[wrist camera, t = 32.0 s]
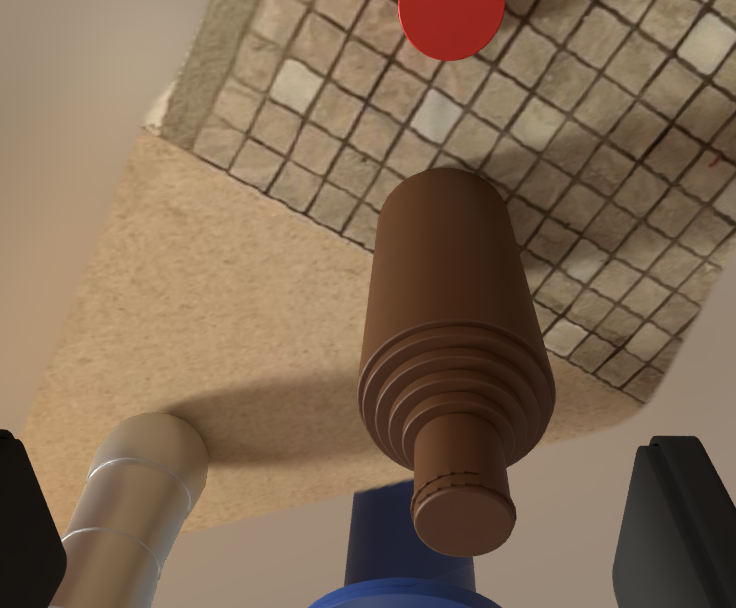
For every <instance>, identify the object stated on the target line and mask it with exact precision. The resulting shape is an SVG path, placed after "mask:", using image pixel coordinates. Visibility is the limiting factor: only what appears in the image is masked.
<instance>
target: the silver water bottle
mask: <svg viewBox="0 0 736 608" xmlns="http://www.w3.org/2000/svg"><path fill="white" fill-rule="evenodd" d="M208 463H209V458H208V452H207V449H206V446H205V444H204V442H203V440H202V439H201V437H200V435H199V434H198V432H197V431H196V430H195V429H194V428H193V427H192V426H191V425H189V424H188V423H187V422H185V421H183V420H181V419H180V418H177V417H175V416H172V415H168V414H164V413H144V414H141V415H137V416H134V417H131V418H128V419H126V420H124V421H122V422H120V423H119V424H118V425H117V426H115V427H114V428H113V429H112V431H111V432H110V433H109V434H108V435H107V436H106V437H105V439H104V440H103V441H102V442H101V444H100V445H99V446H98V448H97V450H96V453H95V456H94V458H93V461H92V464H91V466H90V469H89V472H88V476H87V480H86V485H85V488H84V490H83V492H82V495H81V497H80V499H79V501H78V504H77V506H76V508H75V511H74V513H73V515H72V517H71V520H70V522H69V524H68V527H67V529H66V531H65V532H64V534H63V535H62V537H61V542H62V544H63V547H64V549H65V552H66V555H67V568H66V572H65V576H64V578H63V580H62V582H61V584H60V586H59V588H58V590H57V592H56V593H55V595H54V597H53V599H52V601H51V603H50V605H49V607H48V608H150V607H151V604H152V601H153V598H154V595H155V591H156V588H157V583H158V580H159V578H160V575H161V572H162V569H163V565H164V562H165V560H166V558H167V556H168V554H169V552H170V549H171V547H172V545H173V543H174V541H175V539H176V537H177V535H178V533H179V531H180V529H181V526H182V524H183V522H184V520H185V519H186V518H187V517H188V515H189V514H190V512H191V511H192V509H193V508H194V506H195V504H196V502H197V500H198V499H199V497H200V495H201V493H202V491H203V489H204V487H205V484H206V478H207V471H208Z"/></svg>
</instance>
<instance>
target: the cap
mask: <svg viewBox="0 0 736 608" xmlns="http://www.w3.org/2000/svg"><path fill="white" fill-rule="evenodd" d="M504 11H505V0H399V1H398V17H399V18H400V23H401V26H402V29H403V31H404V33H405V35H406V37H407V38H408V40H409V41H410V42H411V43H412V45H413V46H414V47H415V48H417V49H418V50H419V51H420V52H422V53H423V54H425V55H427V56H429V57H431V58H434V59H437V60H443V61H455V60H460V59H464V58H467V57H470V56H472V55H474V54H476V53H477V52H479V51H480V50H481V49H483V48H484V47H485V46H486V45H487V44H488V43H489V42H490V41H491V40H492V38H493V37H494V36H495V34H496V33H497V31H498V29H499V27H500V25H501V22H502V19H503V16H504Z"/></svg>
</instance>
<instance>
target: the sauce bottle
mask: <svg viewBox="0 0 736 608" xmlns="http://www.w3.org/2000/svg"><path fill="white" fill-rule="evenodd" d="M555 397H556V389H555V381H554V378H553V374H552V370H551V367H550V363H549V359H548V356H547V352H546V348H545V345H544V341H543V338H542V334H541V330H540V327H539V323H538V319H537V316H536V312H535V309H534V305H533V301H532V298H531V294H530V290H529V287H528V283H527V279H526V276H525V272H524V269H523V265H522V261H521V258H520V254H519V250H518V247H517V243H516V239H515V236H514V232H513V229H512V225H511V221H510V218H509V214H508V211H507V207H506V205H505V203H504V201H503V199H502V198H501V196H500V195H499V193H498V192H497V191H496V190H495V188H494V187H493V186H492V185H490V184H489V183H488V182H487V181H485V180H484V179H482V178H481V177H479V176H477V175H475V174H473V173H470V172H467V171H464V170H459V169H454V168H438V169H432V170H427V171H424V172H421V173H418V174H416V175H414V176H412V177H409V178H408V179H406V180H405V181H403V182H402V183H401V184H400V185H398V186H397V187H396V188H395V189H394V190H393V191H392V193H391V194H390V195H389V196H388V198H387V199H386V201H385V203H384V205H383V207H382V209H381V212H380V215H379V219H378V225H377V233H376V242H375V250H374V258H373V266H372V274H371V282H370V290H369V298H368V306H367V314H366V322H365V330H364V338H363V346H362V354H361V362H360V371H359V379H358V387H357V404H358V410H359V413H360V416H361V419H362V421H363V423H364V425H365V427H366V429H367V431H368V432H369V434H370V436H371V438H372V439H373V441H374V442H375V444H376V445H377V446H378V447H379V449H380V450H381V451H382V452H383V453H384V454H385V455H387V456H388V457H389V458H390V459H392V460H393V461H395V462H396V463H398V464H399V465H401V466H403V467H405V468H407V469H409V470H411V471H414V495H413V497H412V502H411V515H412V520H413V522H414V527H415V530H416V532H417V534H418V536H419V538H420V539H421V540H422V541H423V542H424V543H425V544H426V545H427V546H428V547H430V548H431V549H433V550H435V551H437V552H440V553H442V554H446V555H450V556H456V557H472V556H478V555H483V554H486V553H489V552H491V551H493V550H495V549H497V548H498V547H500V546H501V545H502V544H503V543H505V542H506V540H507V539H508V538H509V536H510V534H511V532H512V530H513V528H514V525H515V521H516V508H515V506H514V503H513V501H512V499H511V497H510V491H509V484H508V477H507V471H506V468H507V467H509V466H511V465H512V464H514V463H516V462H518V461H519V460H520V459H522V458H523V457H524V456H526V455H527V454H528V453H529V452H530V451H531V450H532V449H533V448H534V447H535V446H536V445H537V443H538V442H539V441H540V439H541V438H542V436H543V434H544V432H545V430H546V428H547V425H548V423H549V421H550V418H551V416H552V413H553V410H554V405H555Z"/></svg>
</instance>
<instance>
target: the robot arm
mask: <svg viewBox="0 0 736 608" xmlns="http://www.w3.org/2000/svg"><path fill="white" fill-rule="evenodd" d="M66 568H67V555H66V552H65V549H64V547H63V544H62V542H61V539H60V536H59V534H58V531H57V529H56V526H55V524H54V521H53V519H52V516H51V514H50V511H49V508H48V506H47V503H46V501H45V498H44V496H43V493H42V491H41V488H40V486H39V483H38V481H37V478H36V475H35V473H34V470H33V468H32V465H31V463H30V460H29V458H28V455H27V453H26V450H25V447H24V445H23V443H22V442H21V441H20V440H19V439H15V438H14V436H13V435H12V433H11V432H9V431H8V430H3V429H0V608H48V607H49V605H50V603H51V601H52V599H53V597H54V595H55V593H56V592H57V590H58V588H59V586H60V584H61V582H62V580H63V578H64V576H65V572H66ZM612 577H613V586H614V592H615V596H616V600H617V603H618V607H619V608H736V508H735V506H734V504H733V502H732V500H731V498H730V497H729V494H728V492H727V490H726V489H725V487H724V485H723V483H722V481H721V479H720V477H719V475H718V473H717V471H716V470H715V468H714V466H713V464H712V462H711V460H710V458H709V456H708V454H707V453H706V451H705V449H704V447H703V445H702V443H701V442H700V440H699V439H698V438H697V437H695V436H653V438H652V439H651V440H650V444H649V446H639V448H638V450H637V452H636V457H635V462H634V467H633V472H632V477H631V482H630V486H629V491H628V496H627V501H626V506H625V511H624V516H623V521H622V526H621V530H620V535H619V540H618V546H617V550H616V555H615V560H614V564H613V576H612Z"/></svg>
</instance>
